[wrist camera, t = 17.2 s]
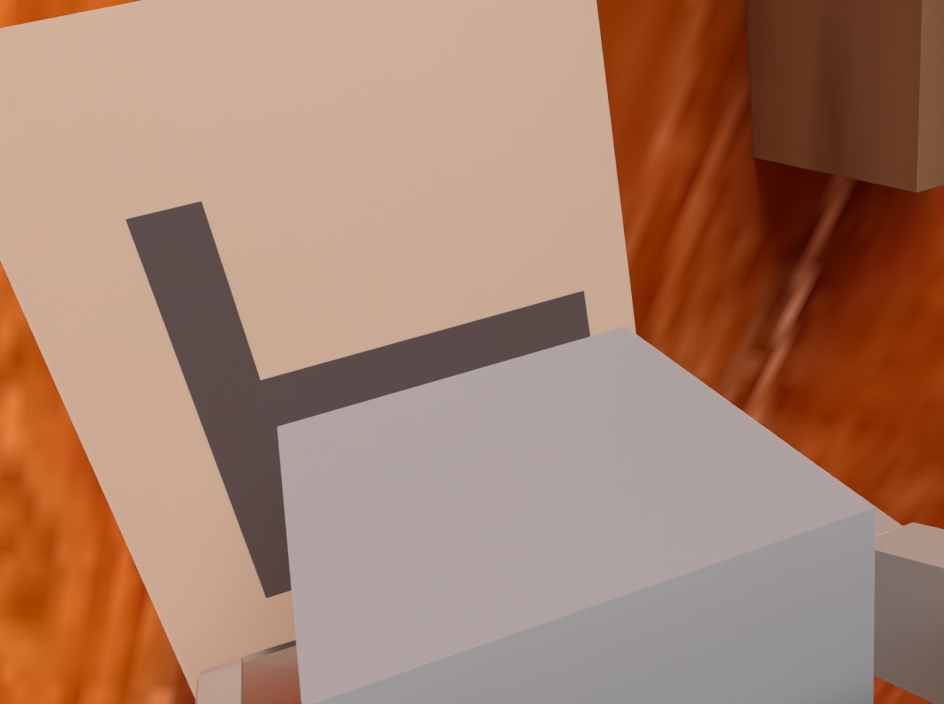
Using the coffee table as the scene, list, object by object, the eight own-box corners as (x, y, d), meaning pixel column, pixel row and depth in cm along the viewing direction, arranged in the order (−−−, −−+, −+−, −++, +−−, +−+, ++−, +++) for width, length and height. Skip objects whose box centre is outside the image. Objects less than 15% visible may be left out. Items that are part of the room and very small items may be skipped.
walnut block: (947, -129, 17) (1197, -193, 13) (938, 108, 19) (1152, 127, 15) (739, -87, 16) (926, -139, 12) (752, 157, 18) (917, 192, 14)
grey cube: (625, 326, 11) (875, 507, 7) (658, 601, 13) (871, 883, 9) (276, 427, 11) (302, 707, 6) (367, 704, 13) (436, 1073, 8)
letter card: (576, -83, 16) (586, -87, 15) (657, 573, 22) (666, 584, 21) (-83, 46, 14) (-96, 46, 13) (214, 725, 20) (214, 741, 19)
